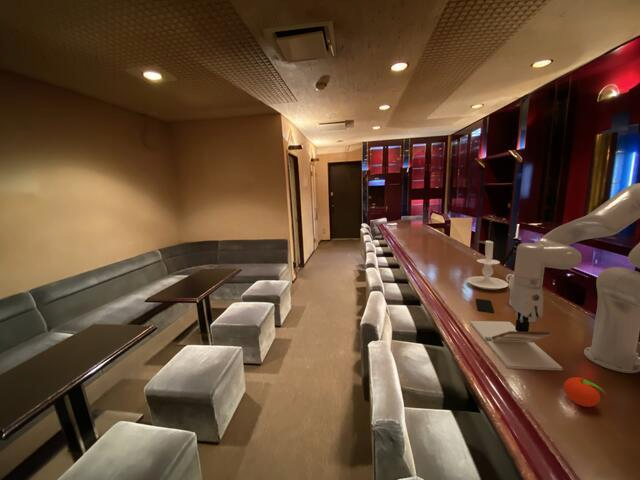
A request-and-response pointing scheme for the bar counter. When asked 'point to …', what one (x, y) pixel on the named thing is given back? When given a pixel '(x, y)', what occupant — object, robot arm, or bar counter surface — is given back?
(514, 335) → the flip plaque
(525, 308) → the robot arm
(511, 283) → the beer glass
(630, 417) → the bar counter surface
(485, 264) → the candlestick
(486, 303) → the smartphone
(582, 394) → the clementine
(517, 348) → the plaque base
